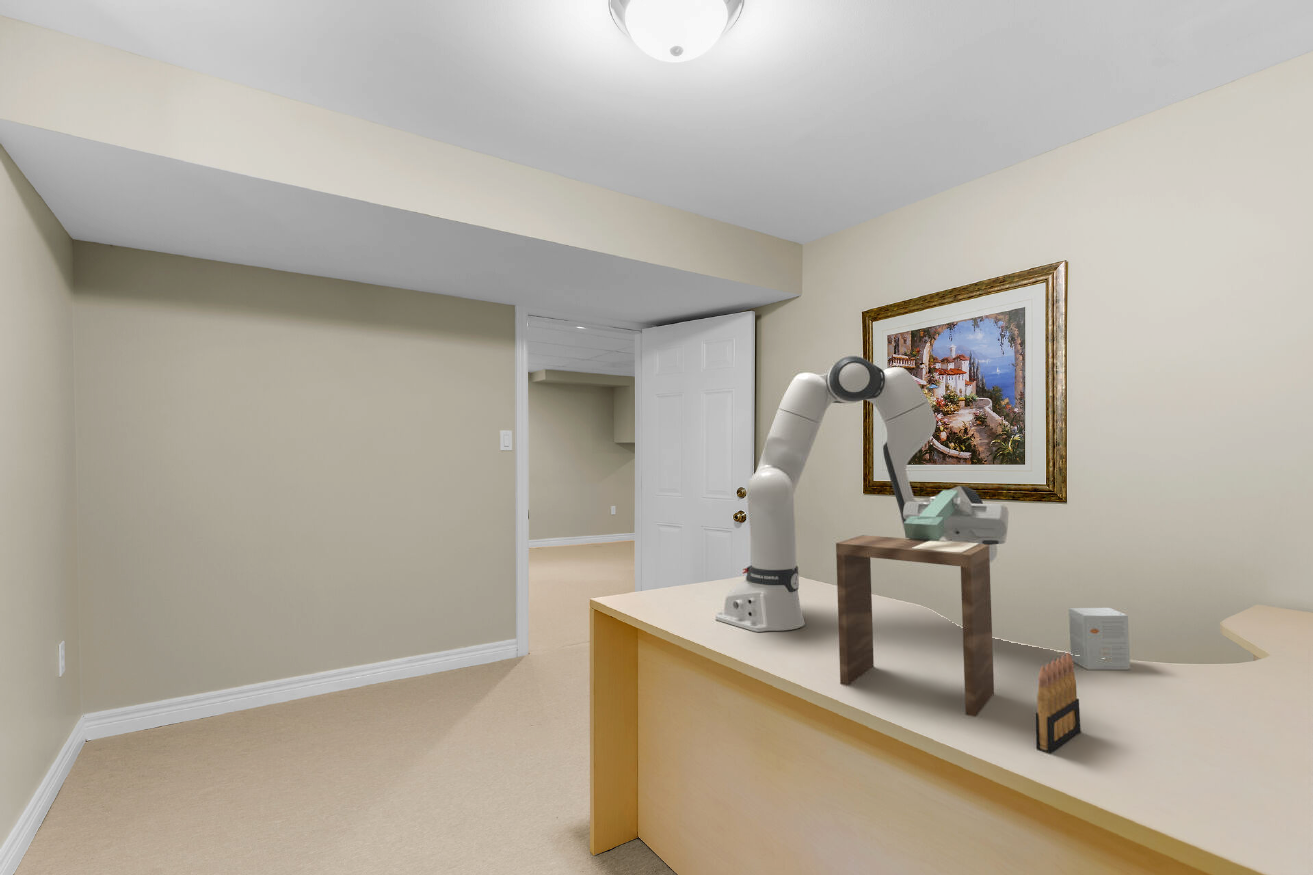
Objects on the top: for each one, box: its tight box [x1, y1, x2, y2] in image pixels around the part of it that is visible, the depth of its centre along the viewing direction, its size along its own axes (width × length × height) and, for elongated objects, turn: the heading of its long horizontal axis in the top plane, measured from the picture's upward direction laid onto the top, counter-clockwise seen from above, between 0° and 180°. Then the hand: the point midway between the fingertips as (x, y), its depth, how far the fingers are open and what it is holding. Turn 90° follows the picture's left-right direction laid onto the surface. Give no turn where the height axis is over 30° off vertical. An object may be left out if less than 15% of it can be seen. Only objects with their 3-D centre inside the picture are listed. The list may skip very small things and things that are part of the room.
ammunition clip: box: [1035, 652, 1082, 754], centre depth 91 cm, size 11×2×12 cm, turn 126°
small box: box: [1068, 607, 1131, 671], centre depth 120 cm, size 8×6×10 cm
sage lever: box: [903, 489, 959, 541], centre depth 122 cm, size 6×20×3 cm, turn 139°
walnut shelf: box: [835, 534, 995, 718], centre depth 112 cm, size 23×12×26 cm, turn 49°
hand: (944, 500), depth 126 cm, fingers closed on sage lever, 3 cm apart
